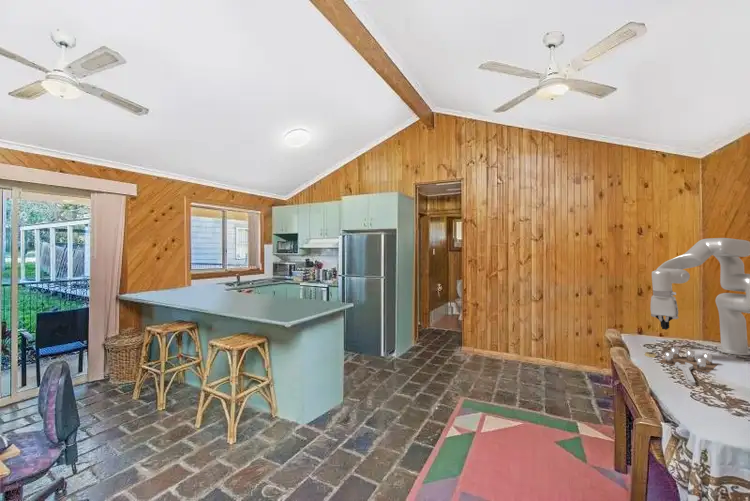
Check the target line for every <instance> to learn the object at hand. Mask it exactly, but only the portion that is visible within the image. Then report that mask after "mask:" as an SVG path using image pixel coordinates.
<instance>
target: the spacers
mask: <svg viewBox="0 0 750 501" xmlns="http://www.w3.org/2000/svg"><path fill="white" fill-rule="evenodd" d="M685 352H686V358H687V361H689V362H695V360H697V369H699V370H706V365H712V363H713V356H712V353H708V352H703V353H702V357H696V356H695V355H696V353H695V351H694V350H691V349H686V351H685ZM664 357H665V362H666V363H670V364H673V363H674V361H673V358H674V359H679V357H680V353H679V348H678V347H670V351H664ZM670 364H669V365H670ZM699 370H698V371H699Z"/></svg>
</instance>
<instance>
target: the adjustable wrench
mask: <svg viewBox="0 0 750 501" xmlns="http://www.w3.org/2000/svg"><path fill="white" fill-rule="evenodd" d="M674 368H675V369H678V370H681V371H682V373H683V375H684V380H685V381H686V384H687V385H690V386H696V380H695V378H694V376H693V374H692V372H691V370H694V369H693V365H692V364H690V363H687V362H685V365H681V364H680V363H679V362H676V363H675V366H674Z"/></svg>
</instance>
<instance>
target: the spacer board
mask: <svg viewBox="0 0 750 501" xmlns="http://www.w3.org/2000/svg"><path fill="white" fill-rule="evenodd" d="M673 361H674V363H673V364H670V363H666V362H665V358H662V359H661V360H659V361H658V363H661V364H665V365H670V366H674V367H675V363H676V362H679V363H680V364H681V365H685V362H687V363H690V364H692V365H693V369H692V370H694V371H699V372H705V373H710V372H711V371H712V370H714V369H715V368H716V367H717V366H719V363H713V362H712V365H706V370H699V369H697V360H696V359H695V362H689V361H687V357H681V356H679V359H674V358H673Z"/></svg>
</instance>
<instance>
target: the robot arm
mask: <svg viewBox="0 0 750 501" xmlns="http://www.w3.org/2000/svg"><path fill="white" fill-rule="evenodd" d="M712 256H713V257H715V259H716V260H717V261H718V262H719V265H720V278H719V282H720V283H719V284H720V287H721V288H722V289H723V290H726V291H733V293H732V292H723V293H719V294H718V295H717V296H716V297H715V304H716V307H717V311H718V317H719V319H718V320H719V333H720V334H719V335H720V345H719V346H717V347H716V349H717V350H718V351H719V352H722V353H725V354H729V355H737V356H750V349H749V347H748V332H747V330H748V329H747V320H746V317H745V315H744V314H750V273H745V263H744V261H743V260H742V259H741V258H744V257H745V258H746V257H749V256H750V241H749V240H745V239H738V238H736V239H735V238H732V237H731V238H729V237H728V238H727V237H714V238H713V237H712V238H703V239H700V240H698V241H697V242H696V243H695V244H693V246H691V247H690V248H689V249H688V250H686V252H684V253H683V254H680V255H678V256H675V257H674V258H671V259H668V260H666V261H664V262H663V263H661V265H659V266H658V267H657V268H656V269H655V270H653V271H651V282H652V283H651V284H652V285H651V286H652V295H651V297H650V316H651V317H653V318H655V319H658V321H659V322H660V327H661V328H662V329H661V330H666V331H667V330H669V328H670V321H672V320H678V319H679V307H678V303H677V299H676V296H677V292H676V291H675V292H674V291H673V284H684V283H688V281H689V280H690V279H691V278H690V277H691V275H690V272H688V271H687V270H686V269H691V268H696V267H699V266H702V265H703V264H704V263H706V261H707V260H708V259H709V258H711V257H712ZM734 292H743V293H745V294H742V293H734ZM743 313H744V314H743Z"/></svg>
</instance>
